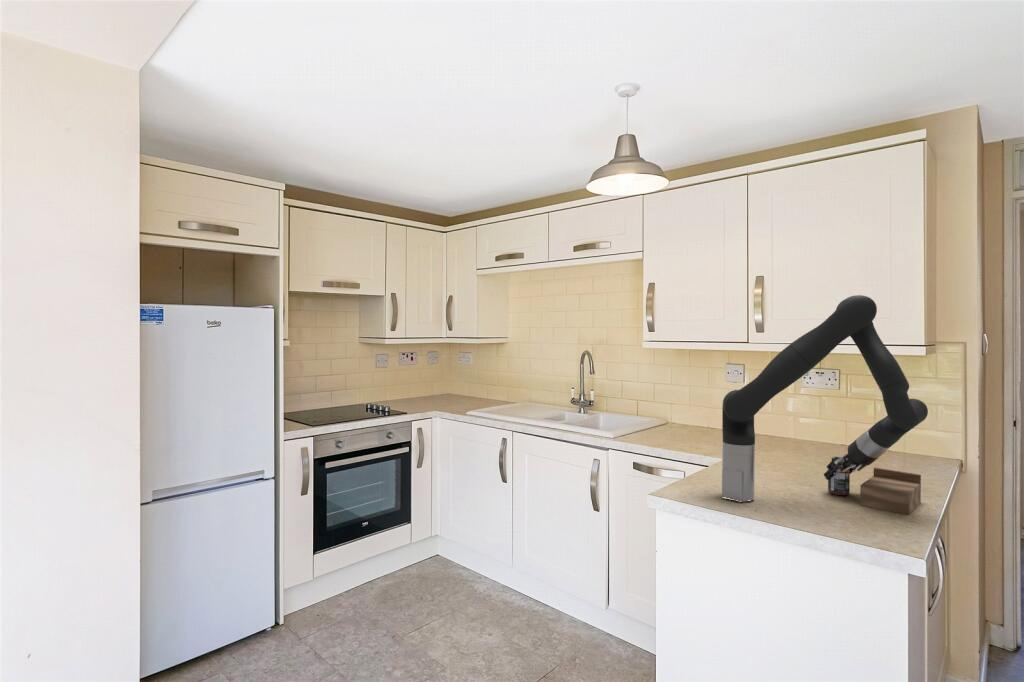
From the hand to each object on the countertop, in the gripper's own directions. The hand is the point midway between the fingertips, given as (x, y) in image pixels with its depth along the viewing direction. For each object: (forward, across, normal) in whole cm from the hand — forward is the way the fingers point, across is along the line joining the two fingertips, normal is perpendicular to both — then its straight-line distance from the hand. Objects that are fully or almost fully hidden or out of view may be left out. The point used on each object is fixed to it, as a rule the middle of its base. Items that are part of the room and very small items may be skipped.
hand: (833, 476), depth 177 cm
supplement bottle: (+2, 0, +5) cm, 5 cm away
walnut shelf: (-6, -6, +14) cm, 16 cm away
